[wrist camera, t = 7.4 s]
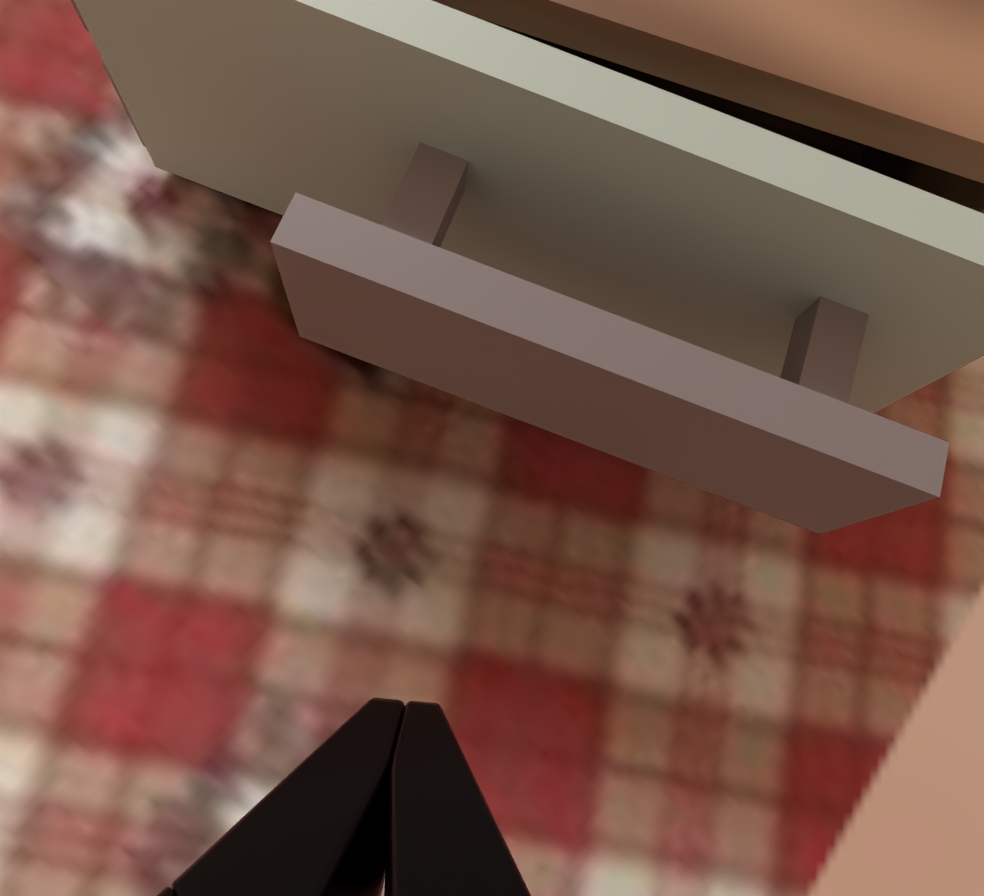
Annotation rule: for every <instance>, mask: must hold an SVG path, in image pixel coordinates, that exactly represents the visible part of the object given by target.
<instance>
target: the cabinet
mask: <svg viewBox="0 0 984 896" xmlns="http://www.w3.org/2000/svg"><path fill="white" fill-rule="evenodd" d="M432 1H435V2H437V3H440V4H442V5H445V6H448V7H450V8H453V9H455V10H458V11H461V12H463V13H466V14H468V15H471V16H474V17H476V18H479V19H481V20H484V21H486V22H489V23H492V24H494V25H497V26H499V27H502V28H505V29H507V30H510V31H512V32H515V33H517V34H520V35H523V36H525V37H528V38H530V39H533V40H536V41H538V42H541V43H543V44H546V45H549V46H551V47H554V48H556V49H559V50H561V51H564V52H567V53H569V54H572V55H574V56H577V57H580V58H582V59H585V60H587V61H590V62H592V63H595V64H598V65H600V66H603V67H605V68H608V69H611V70H613V71H616V72H618V73H621V74H623V75H626V76H629V77H631V78H634V79H636V80H639V81H642V82H644V83H647V84H649V85H652V86H655V87H657V88H660V89H662V90H665V91H667V92H670V93H673V94H675V95H678V96H680V97H683V98H686V99H688V100H691V101H693V102H696V103H698V104H701V105H704V106H706V107H709V108H711V109H714V110H717V111H719V112H722V113H724V114H727V115H730V116H732V117H735V118H737V119H740V120H742V121H745V122H748V123H750V124H753V125H755V126H758V127H761V128H763V129H766V130H768V131H771V132H773V133H776V134H779V135H781V136H784V137H786V138H789V139H792V140H794V141H797V142H799V143H802V144H805V145H807V146H810V147H812V148H815V149H817V150H820V151H823V152H825V153H828V154H830V155H833V156H836V157H838V158H841V159H843V160H846V161H848V162H851V163H854V164H856V165H859V166H861V167H864V168H867V169H869V170H872V171H874V172H877V173H879V174H882V175H885V176H887V177H890V178H892V179H895V180H898V181H900V182H903V183H905V184H908V185H911V186H913V187H916V188H918V189H921V190H923V191H926V192H929V193H931V194H934V195H936V196H939V197H942V198H944V199H947V200H949V201H952V202H954V203H957V204H960V205H962V206H965V207H967V208H970V209H973V210H975V211H978V212H980V213H983V214H984V0H432Z"/></svg>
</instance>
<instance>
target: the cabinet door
mask: <svg viewBox="0 0 984 896" xmlns="http://www.w3.org/2000/svg"><path fill="white" fill-rule="evenodd" d="M71 1H72V3H73V5H74V7H75V9H76V11H77V13H78V15H79V17H80V19H81V21H82V23H83V25H84V27H85V29H86V30H87V31H88V32H89V33H90V34H91V36H92V38H93V41H94V43H95V45H96V47H97V49H98V51H99V53H100V55H101V57H102V59H103V65H104V68H105V70H106V72H107V74H108V76H109V78H110V80H111V82H112V84H113V86H114V88H115V90H116V92H117V94H118V96H119V98H120V100H121V102H122V104H123V106H124V108H125V110H126V112H127V114H128V116H129V118H130V120H131V122H132V124H133V126H134V128H135V130H136V132H137V134H138V136H139V138H140V140H141V142H142V144H143V145H144V146H145V147H146V148H147V150H148V152H149V154H150V156H151V158H152V160H153V162H154V164H155V166H156V167H157V168H160V169H162V170H165V171H168V172H170V173H173V174H175V175H178V176H181V177H183V178H186V179H189V180H191V181H194V182H196V183H199V184H202V185H204V186H207V187H209V188H212V189H215V190H217V191H220V192H223V193H225V194H228V195H230V196H233V197H236V198H238V199H241V200H243V201H246V202H249V203H251V204H254V205H257V206H259V207H262V208H264V209H267V210H270V211H272V212H275V213H277V214H280V215H283V218H282V220H281V222H280V224H279V225H278V227H277V229H276V231H275V233H274V235H273V237H272V239H271V241H270V243H271V246H272V249H273V253H274V256H275V259H276V262H277V266H278V269H279V272H280V275H281V278H282V282H283V285H284V288H285V291H286V295H287V298H288V301H289V304H290V308H291V311H292V314H293V317H294V320H295V324H296V327H297V330H298V333H299V336H300V337H302V338H305V339H308V340H310V341H313V342H316V343H318V344H321V345H323V346H326V347H329V348H331V349H334V350H337V351H339V352H342V353H344V354H347V355H350V356H352V357H355V358H358V359H360V360H363V361H365V362H368V363H371V364H373V365H376V366H379V367H381V368H384V369H387V370H389V371H392V372H394V373H397V374H400V375H402V376H405V377H408V378H410V379H413V380H415V381H418V382H421V383H423V384H426V385H429V386H431V387H434V388H436V389H439V390H442V391H444V392H447V393H450V394H452V395H455V396H458V397H460V398H463V399H465V400H468V401H471V402H473V403H476V404H479V405H481V406H484V407H486V408H489V409H492V410H494V411H497V412H500V413H502V414H505V415H507V416H510V417H513V418H515V419H518V420H521V421H523V422H526V423H528V424H531V425H534V426H536V427H539V428H542V429H544V430H547V431H550V432H552V433H555V434H557V435H560V436H563V437H565V438H568V439H571V440H573V441H576V442H578V443H581V444H584V445H586V446H589V447H592V448H594V449H597V450H599V451H602V452H605V453H607V454H610V455H613V456H615V457H618V458H621V459H623V460H626V461H628V462H631V463H634V464H636V465H639V466H642V467H644V468H647V469H649V470H652V471H655V472H657V473H660V474H663V475H665V476H668V477H670V478H673V479H676V480H678V481H681V482H684V483H686V484H689V485H692V486H694V487H697V488H699V489H702V490H705V491H707V492H710V493H713V494H715V495H718V496H720V497H723V498H726V499H728V500H731V501H734V502H736V503H739V504H741V505H744V506H747V507H749V508H752V509H755V510H757V511H760V512H763V513H765V514H768V515H770V516H773V517H776V518H778V519H781V520H784V521H786V522H789V523H791V524H794V525H797V526H799V527H802V528H805V529H807V530H810V531H812V532H815V533H818V534H822V533H826V532H829V531H832V530H835V529H839V528H842V527H845V526H848V525H852V524H855V523H858V522H861V521H865V520H868V519H871V518H874V517H878V516H881V515H884V514H887V513H891V512H894V511H897V510H900V509H904V508H907V507H910V506H913V505H917V504H920V503H923V502H926V501H930V500H933V499H936V498H939V497H940V494H941V489H942V483H943V477H944V472H945V466H946V461H947V455H948V450H949V444H950V443H949V442H947V441H944V440H941V439H939V438H936V437H934V436H931V435H928V434H926V433H923V432H921V431H918V430H915V429H913V428H910V427H908V426H905V425H902V424H900V423H897V422H894V421H892V420H889V419H887V418H884V417H881V416H879V415H876V414H874V413H875V412H877V411H879V410H881V409H883V408H885V407H887V406H889V405H891V404H892V403H894V402H896V401H898V400H900V399H902V398H904V397H906V396H908V395H910V394H911V393H913V392H915V391H917V390H919V389H921V388H923V387H925V386H927V385H928V384H930V383H932V382H934V381H936V380H938V379H940V378H942V377H944V376H945V375H947V374H949V373H951V372H953V371H955V370H957V369H959V368H961V367H963V366H964V365H966V364H968V363H970V362H972V361H974V360H976V359H978V358H980V357H981V356H983V355H984V214H983V213H980V212H978V211H975V210H973V209H970V208H967V207H965V206H962V205H960V204H957V203H954V202H952V201H949V200H947V199H944V198H942V197H939V196H936V195H934V194H931V193H929V192H926V191H923V190H921V189H918V188H916V187H913V186H911V185H908V184H905V183H903V182H900V181H898V180H895V179H892V178H890V177H887V176H885V175H882V174H879V173H877V172H874V171H872V170H869V169H867V168H864V167H861V166H859V165H856V164H854V163H851V162H848V161H846V160H843V159H841V158H838V157H836V156H833V155H830V154H828V153H825V152H823V151H820V150H817V149H815V148H812V147H810V146H807V145H805V144H802V143H799V142H797V141H794V140H792V139H789V138H786V137H784V136H781V135H779V134H776V133H773V132H771V131H768V130H766V129H763V128H761V127H758V126H755V125H753V124H750V123H748V122H745V121H742V120H740V119H737V118H735V117H732V116H730V115H727V114H724V113H722V112H719V111H717V110H714V109H711V108H709V107H706V106H704V105H701V104H698V103H696V102H693V101H691V100H688V99H686V98H683V97H680V96H678V95H675V94H673V93H670V92H667V91H665V90H662V89H660V88H657V87H655V86H652V85H649V84H647V83H644V82H642V81H639V80H636V79H634V78H631V77H629V76H626V75H623V74H621V73H618V72H616V71H613V70H611V69H608V68H605V67H603V66H600V65H598V64H595V63H592V62H590V61H587V60H585V59H582V58H580V57H577V56H574V55H572V54H569V53H567V52H564V51H561V50H559V49H556V48H554V47H551V46H549V45H546V44H543V43H541V42H538V41H536V40H533V39H530V38H528V37H525V36H523V35H520V34H517V33H515V32H512V31H510V30H507V29H505V28H502V27H499V26H497V25H494V24H492V23H489V22H486V21H484V20H481V19H479V18H476V17H474V16H471V15H468V14H466V13H463V12H461V11H458V10H455V9H453V8H450V7H448V6H445V5H442V4H440V3H437V2H435V1H432V0H71Z"/></svg>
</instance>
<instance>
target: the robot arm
mask: <svg viewBox="0 0 984 896" xmlns="http://www.w3.org/2000/svg"><path fill="white" fill-rule="evenodd" d="M384 879H385V892H384V896H531V895H530V893H529V890H528V888H527V886H526V884H525V882H524V880H523V878H522V876H521V874H520V872H519V869H518V867H517V865H516V863H515V861H514V859H513V857H512V855H511V853H510V851H509V848H508V846H507V844H506V842H505V840H504V838H503V836H502V834H501V832H500V830H499V827H498V825H497V823H496V821H495V819H494V817H493V815H492V813H491V811H490V809H489V806H488V804H487V802H486V800H485V798H484V796H483V794H482V792H481V790H480V787H479V785H478V783H477V781H476V779H475V777H474V775H473V773H472V771H471V769H470V766H469V764H468V762H467V760H466V758H465V756H464V754H463V752H462V750H461V748H460V745H459V743H458V741H457V739H456V737H455V735H454V733H453V731H452V729H451V727H450V724H449V722H448V720H447V718H446V716H445V714H444V712H443V710H442V708H441V707H440V705H439V704H437V703H429V702H417V701H410V702H408V703H407V704H406V705H404V703H403V702H402V701H401V700H394V699H382V698H372V699H371V700H369V701H368V702H367V703H365V704H364V705H363V706H362V707H361V708H360V709H359V710H358V711H357V712H356V713H355V714H354V715H353V716H351V717H350V718H349V719H348V720H347V721H346V722H345V723H344V724H343V725H342V726H341V727H340V728H339V729H337V730H336V731H335V732H334V733H333V734H332V735H331V736H330V737H329V738H328V739H327V740H326V741H325V742H323V743H322V744H321V745H320V746H319V747H318V748H317V749H316V750H315V751H314V752H313V753H312V754H311V755H309V756H308V757H307V758H306V759H305V760H304V761H303V762H302V763H301V764H300V765H299V766H298V767H297V768H295V769H294V770H293V771H292V772H291V773H290V774H289V775H288V776H287V777H286V778H285V779H284V780H283V781H281V782H280V783H279V784H278V785H277V786H276V787H275V788H274V789H273V790H272V791H271V792H270V793H269V794H267V795H266V796H265V797H264V798H263V799H262V800H261V801H260V802H259V803H258V804H257V805H256V806H255V807H253V808H252V809H251V810H250V811H249V812H248V813H247V814H246V815H245V816H244V817H243V818H242V819H241V820H239V821H238V822H237V823H236V824H235V825H234V826H233V827H232V828H231V829H230V830H229V831H228V832H227V833H225V834H224V835H223V836H222V837H221V838H220V839H219V840H218V841H217V842H216V843H215V844H214V845H213V846H211V847H210V848H209V849H208V850H207V851H206V852H205V853H204V854H203V855H202V856H201V857H200V858H199V859H197V860H196V861H195V862H194V863H193V864H192V865H191V866H190V867H189V868H188V869H187V870H186V871H185V872H183V873H182V874H181V875H180V876H179V877H178V878H177V879H176V880H175V881H174V882H173V883H172V888H170V887H166V888H165V889H163V890H162V891H161V892H160V893H159V894H158V895H157V896H381V893H382V889H383V884H384Z"/></svg>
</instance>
